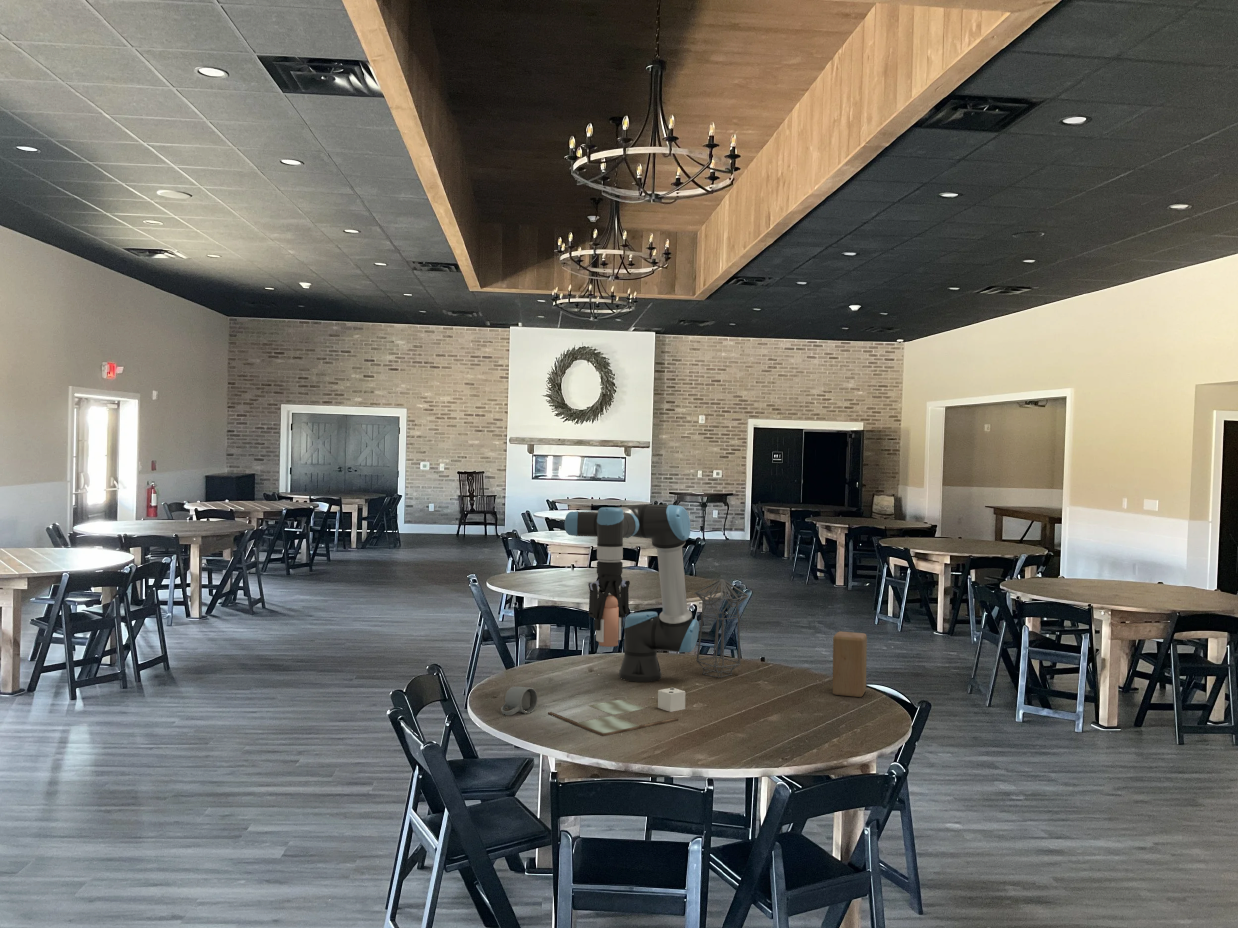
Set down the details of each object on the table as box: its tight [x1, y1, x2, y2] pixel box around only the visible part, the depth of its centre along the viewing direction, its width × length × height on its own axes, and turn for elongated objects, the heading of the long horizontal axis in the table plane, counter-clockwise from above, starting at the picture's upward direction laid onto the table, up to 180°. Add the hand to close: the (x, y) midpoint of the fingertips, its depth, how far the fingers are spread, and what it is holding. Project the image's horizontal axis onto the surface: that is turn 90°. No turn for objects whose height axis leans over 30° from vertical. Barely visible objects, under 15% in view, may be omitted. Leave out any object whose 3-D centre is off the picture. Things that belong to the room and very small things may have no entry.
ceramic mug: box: [500, 685, 539, 716], centre depth 284 cm, size 11×8×8 cm
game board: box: [547, 699, 679, 737], centre depth 279 cm, size 28×28×1 cm
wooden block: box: [832, 630, 868, 698], centre depth 314 cm, size 10×10×20 cm
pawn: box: [598, 594, 619, 648], centre depth 270 cm, size 6×6×15 cm
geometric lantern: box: [693, 578, 749, 679], centre depth 339 cm, size 16×16×35 cm
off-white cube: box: [657, 687, 686, 713], centre depth 288 cm, size 6×6×6 cm
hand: (608, 640), depth 270 cm, fingers closed on pawn, 5 cm apart
